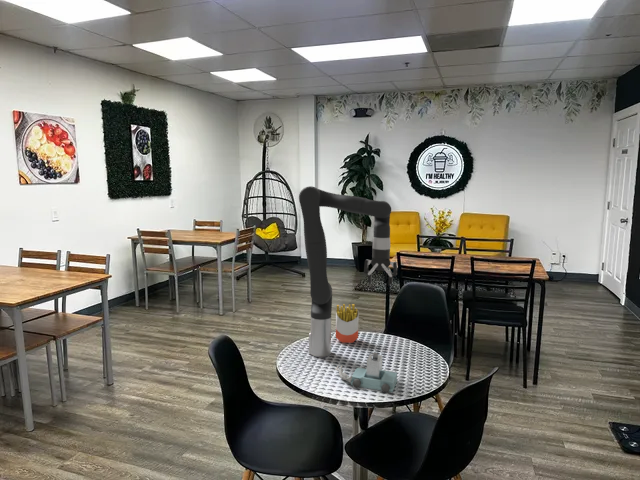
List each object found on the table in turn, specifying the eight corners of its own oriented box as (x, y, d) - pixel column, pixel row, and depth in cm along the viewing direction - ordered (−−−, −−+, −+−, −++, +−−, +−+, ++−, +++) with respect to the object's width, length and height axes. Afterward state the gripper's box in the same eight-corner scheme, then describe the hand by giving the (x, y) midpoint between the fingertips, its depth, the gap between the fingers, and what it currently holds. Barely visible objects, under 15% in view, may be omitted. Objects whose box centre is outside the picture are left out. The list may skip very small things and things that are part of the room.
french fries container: (358, 343, 209) (359, 306, 207) (335, 342, 210) (336, 306, 207) (357, 339, 214) (358, 304, 211) (335, 339, 214) (336, 303, 212)
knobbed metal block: (366, 382, 166) (366, 355, 165) (369, 375, 172) (370, 350, 170) (378, 384, 165) (379, 357, 163) (381, 377, 170) (382, 351, 169)
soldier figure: (348, 374, 178) (362, 377, 167) (341, 384, 176) (355, 388, 165) (334, 362, 176) (348, 364, 165) (328, 372, 174) (341, 375, 163)
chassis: (350, 386, 165) (350, 377, 164) (358, 373, 177) (358, 364, 176) (391, 393, 160) (392, 384, 159) (397, 379, 171) (397, 370, 171)
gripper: (363, 247, 186) (362, 284, 188) (396, 249, 181) (394, 287, 183) (367, 245, 193) (366, 280, 195) (399, 247, 188) (397, 283, 190)
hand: (380, 284), depth 189 cm, fingers open, 8 cm apart
